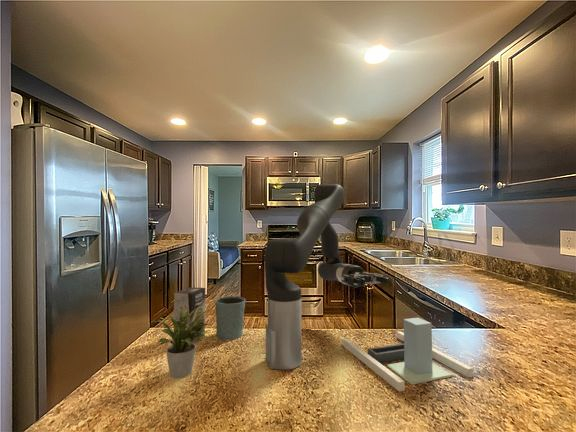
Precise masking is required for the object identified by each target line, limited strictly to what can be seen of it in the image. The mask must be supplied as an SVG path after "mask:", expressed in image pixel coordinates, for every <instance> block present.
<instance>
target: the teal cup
mask: <svg viewBox="0 0 576 432" xmlns="http://www.w3.org/2000/svg"><path fill="white" fill-rule="evenodd" d="M214 302H215V303H214V306H215V316H216V317H215V322H216V326H215V327H216V328H215V331H216V335H215V336H216V337H217V339H218V340H220V341H221V340H222V341H232V340H237V339H240V338H241V337H242V335H243V331H244V325H243V324H244V319H245V317H244V314H245V307H246V298H244V297H243V296H242V297H241V296H234V295H233V296H231V295H230V296H228V295H227V296H222V297H218V298H216V299H215V300H214Z"/></svg>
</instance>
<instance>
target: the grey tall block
mask: <svg viewBox="0 0 576 432" xmlns="http://www.w3.org/2000/svg"><path fill="white" fill-rule="evenodd" d="M403 333H404V342H403V343H404V360H403V362H404V366H405V367H406V368H408V369H409V370H411V371H412V372H414V373H415V374H416V375H420V374H425V373H431V372H433V370H432V363H433V358H432V348H433V335H432V333H433V330H432V322H429V321H427V320H425V319H422V318H421V317H412V318H403Z"/></svg>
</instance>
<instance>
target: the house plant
mask: <svg viewBox="0 0 576 432" xmlns="http://www.w3.org/2000/svg"><path fill="white" fill-rule="evenodd" d="M195 309H196V308H195ZM195 309H194V310H193V311H192V312H191V313H190V314H188V311H189V308H187V309H186V310H185V312H184V314H183V317H182V306H181V309H180V313H179V329H178V325H177V322H176V320H175V318H174V315H172V314H171V313H168V315H167V314H165V316H166V317H167V316H168V317H170V321H171V323H172V325H173V329H174V330H175V334H176V337H175V334H174V332H173V329H172V327H171V325H170V324H169V322H167V321H166V319H165V318H162V317H161V319H162V320H163V321H162V320H160V319H158V320H157V321H152V323H155V322H158V323H160V324H162V325H163V326H164V327H165V328H163V329H162V330H161V331H162V332H163V333H165V334H167V335H168V336H169V337H170V338H171V339H172V340H171V339H168V338H165V337H161V338H160V339H159V340H158V342H157V344H159V346H161V345H163V344H166V343H171V345H169V346H168V347H167V348H166V351H165V352H166V358H167V359H166V360H167V365H168V372H169V377H170V378H173V379H182V378H186V377H188V376H190V375H191V374H192V371H193V366H194V361H195V357H196V356H195V354H196V350H197V349H196V348H197V345H196V344H195V343H191V342H192V341H193V340H194V339H195V338H196V337H201V336H203V337H205V338H207V336H206V335H204V334H201V333H203V332H205V334H207V335H209V332H208V331H206V330H205V331H203V330H201V331H197V332H195V333H194V331H195V330H196V329H198V328H200V327H202V326H205V327H206V326H209V325H212V323H205V324H200V325H197V326H194V327H192V326H193V325H194V323H195V322H196V321H198V319H199V317H200V316H201V315H202V314H203V313H205V314H206V312H207V310H205V312H203V313H201V314H200V315H198V316H197V317H196V318H195V319H194V321H193V322H192V323H191V324H190V325H189V326H187V327H189V328H188V329H185V328H187V327H186V324H187V322H188V320H189V318H190V317H191V315H192V313H193V312H194V311H195ZM202 319H205V320H206V319H207V317H205V318H202ZM199 320H201V319H199ZM164 321H165V322H164ZM199 322H202V321H199ZM199 322H197V323H199ZM197 323H196V324H197ZM199 332H201V333H200V334H198V335H195V334H196V333H199ZM193 333H194V334H193ZM192 334H193V335H195V336H193V335H192ZM192 336H193V337H192ZM191 337H192V338H191ZM193 338H194V339H193ZM191 339H193V340H192V341H191ZM173 341H174V342H175V343H174V342H173Z"/></svg>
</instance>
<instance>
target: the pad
mask: <svg viewBox="0 0 576 432" xmlns="http://www.w3.org/2000/svg"><path fill="white" fill-rule="evenodd" d="M386 366H387V367H386V368H389V370H390V371H392V372H393V373H394V374H396V375H397V376H398V377H399V376H400V378H401V379H404V381H406V382H408V383H409V385H410V384H411V385H417V384H422V383H427V382H432V381H437V380H442V379H447V378H452V377H453V374H452V373H451V372H449V371H447V370H445V369H444V368H442V367H440V366H438V365H437V364H435V363H434V362H432V370H433V372H431V373H425V374H420V375H416V374H415V373H414V372H412V371H411V370H409V369H408V368H406V367H405V366H404V361H401V362H400V361H399V362H395V363H389V364H386Z"/></svg>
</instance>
